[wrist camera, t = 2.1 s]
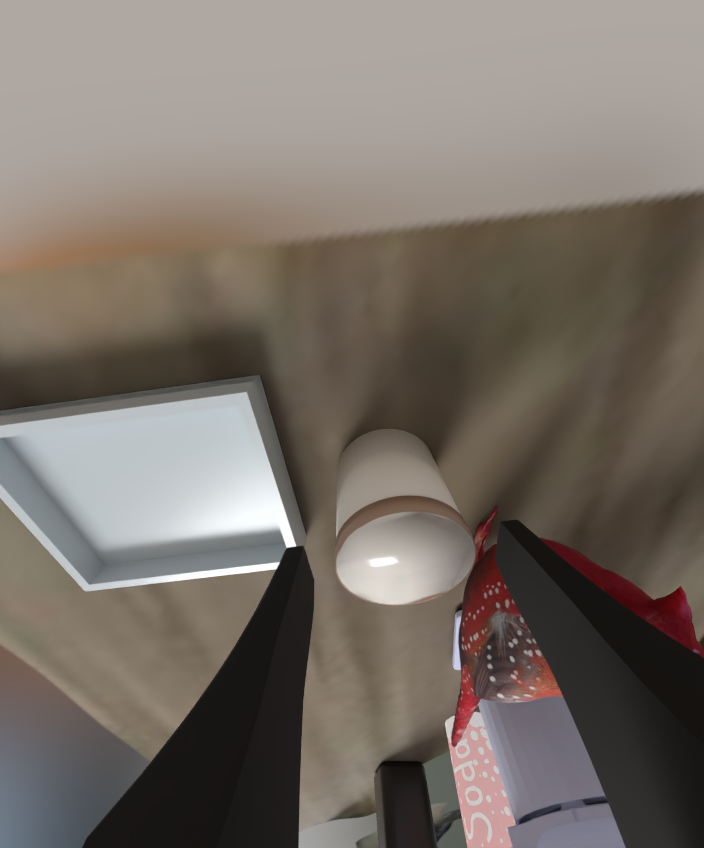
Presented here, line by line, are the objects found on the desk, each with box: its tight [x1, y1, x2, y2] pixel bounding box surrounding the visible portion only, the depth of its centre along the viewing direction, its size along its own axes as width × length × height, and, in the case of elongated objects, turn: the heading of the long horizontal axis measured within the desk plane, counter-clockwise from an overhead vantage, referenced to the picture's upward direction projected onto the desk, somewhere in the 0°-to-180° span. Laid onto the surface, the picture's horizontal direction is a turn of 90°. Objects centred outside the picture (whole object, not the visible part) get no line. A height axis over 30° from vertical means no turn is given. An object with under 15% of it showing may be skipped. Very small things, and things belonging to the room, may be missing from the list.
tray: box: [0, 375, 306, 591], centre depth 14 cm, size 12×10×2 cm
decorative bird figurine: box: [451, 506, 704, 747], centre depth 15 cm, size 3×18×10 cm, turn 171°
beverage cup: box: [445, 712, 516, 848], centre depth 25 cm, size 6×6×14 cm
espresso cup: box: [334, 429, 477, 605], centre depth 13 cm, size 5×5×6 cm
